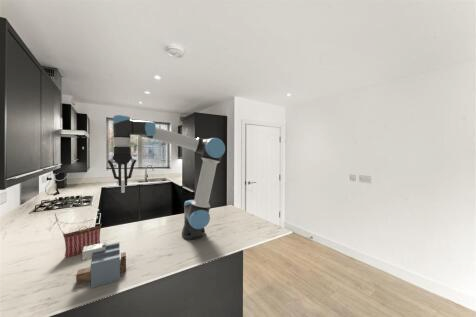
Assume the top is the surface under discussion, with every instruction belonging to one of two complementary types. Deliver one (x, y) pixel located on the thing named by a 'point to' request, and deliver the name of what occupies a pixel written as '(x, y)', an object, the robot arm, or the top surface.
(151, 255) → the top surface
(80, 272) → the wooden bar
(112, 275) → the block
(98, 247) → the keeper
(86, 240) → the handbag
